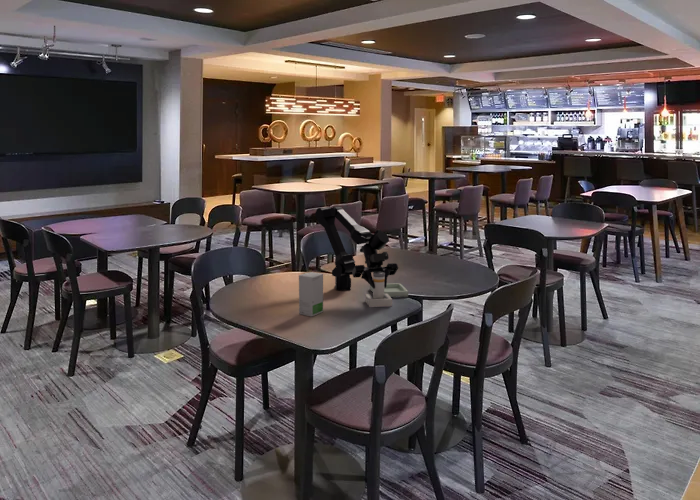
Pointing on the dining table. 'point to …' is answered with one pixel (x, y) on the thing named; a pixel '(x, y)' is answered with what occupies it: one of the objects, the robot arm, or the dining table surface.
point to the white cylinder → (378, 285)
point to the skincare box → (310, 294)
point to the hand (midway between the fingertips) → (379, 287)
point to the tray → (394, 290)
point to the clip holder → (378, 301)
